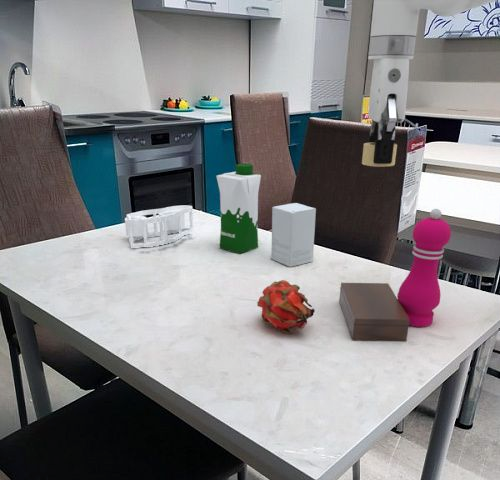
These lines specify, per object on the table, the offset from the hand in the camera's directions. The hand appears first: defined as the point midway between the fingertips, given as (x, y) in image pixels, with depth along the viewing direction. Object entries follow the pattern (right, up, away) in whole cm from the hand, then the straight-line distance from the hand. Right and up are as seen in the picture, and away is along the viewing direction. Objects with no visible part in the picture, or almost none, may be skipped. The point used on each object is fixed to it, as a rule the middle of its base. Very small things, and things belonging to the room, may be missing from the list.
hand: (378, 159), depth 94 cm
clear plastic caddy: (-48, -7, +41) cm, 63 cm away
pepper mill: (+6, -30, -3) cm, 31 cm away
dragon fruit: (-18, -31, -5) cm, 36 cm away
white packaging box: (-14, -15, +26) cm, 33 cm away
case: (-2, -30, -3) cm, 30 cm away
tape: (0, -1, 0) cm, 1 cm away
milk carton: (-27, -11, +34) cm, 45 cm away
